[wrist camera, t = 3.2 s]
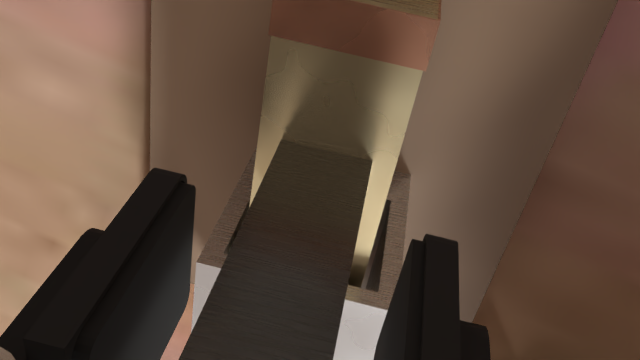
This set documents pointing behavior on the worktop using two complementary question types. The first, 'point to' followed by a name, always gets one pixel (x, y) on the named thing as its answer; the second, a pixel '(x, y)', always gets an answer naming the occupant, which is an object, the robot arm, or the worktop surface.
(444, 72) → the base board
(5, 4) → the worktop surface
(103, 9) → the worktop surface
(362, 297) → the sleeve
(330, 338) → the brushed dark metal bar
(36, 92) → the worktop surface
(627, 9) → the worktop surface
